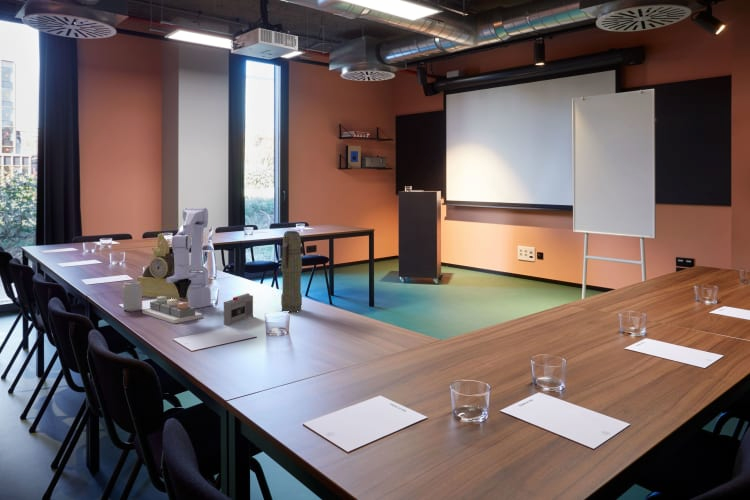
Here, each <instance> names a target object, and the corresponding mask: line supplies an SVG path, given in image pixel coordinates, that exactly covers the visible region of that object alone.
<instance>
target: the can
mask: <svg viewBox="0 0 750 500" xmlns="http://www.w3.org/2000/svg"><path fill="white" fill-rule="evenodd" d="M122 303H123V305H122V307H123V309H124V310H125V311H127V312H137V311H140V310H141V309H142V308H143V296H142V285H141V284H140V282H137V281H136V280H135V281H125V282H124V283H123V285H122Z"/></svg>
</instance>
